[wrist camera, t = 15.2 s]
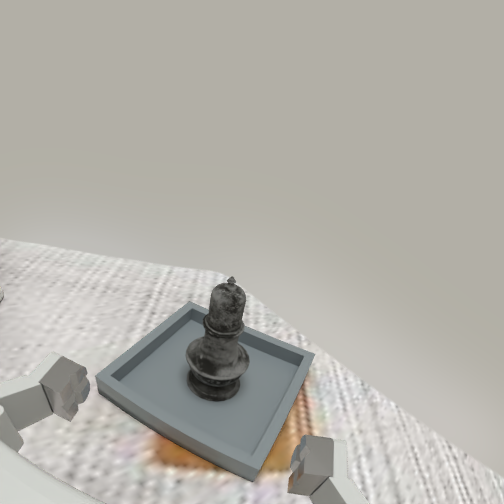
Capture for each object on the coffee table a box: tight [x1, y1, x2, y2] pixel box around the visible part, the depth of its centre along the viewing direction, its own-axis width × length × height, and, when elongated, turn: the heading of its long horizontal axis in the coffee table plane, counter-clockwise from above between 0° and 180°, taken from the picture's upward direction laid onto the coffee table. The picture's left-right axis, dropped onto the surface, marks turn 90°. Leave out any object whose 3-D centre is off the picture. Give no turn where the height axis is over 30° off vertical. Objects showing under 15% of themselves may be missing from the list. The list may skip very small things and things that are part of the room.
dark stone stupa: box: [186, 277, 250, 402], centre depth 27 cm, size 6×6×12 cm
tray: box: [95, 301, 315, 482], centre depth 30 cm, size 16×16×2 cm
